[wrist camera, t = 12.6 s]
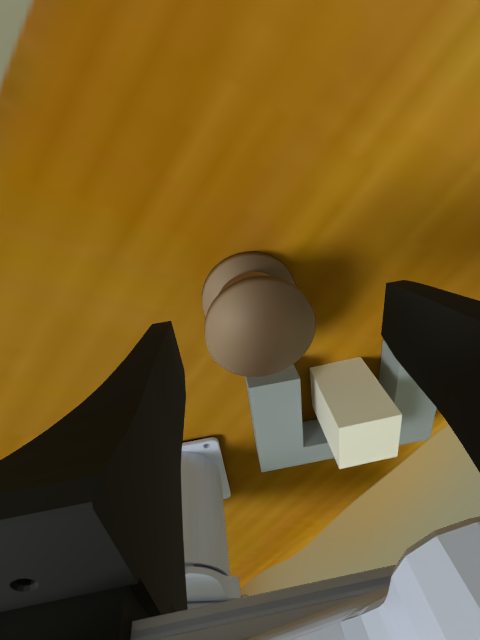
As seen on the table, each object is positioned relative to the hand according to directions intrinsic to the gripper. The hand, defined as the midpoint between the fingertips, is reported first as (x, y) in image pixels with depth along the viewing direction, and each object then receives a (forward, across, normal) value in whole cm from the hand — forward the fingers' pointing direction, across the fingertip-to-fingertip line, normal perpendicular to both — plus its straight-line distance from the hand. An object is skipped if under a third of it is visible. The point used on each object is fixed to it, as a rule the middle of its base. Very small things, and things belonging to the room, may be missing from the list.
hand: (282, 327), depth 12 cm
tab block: (+10, -6, +13) cm, 18 cm away
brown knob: (+10, 0, +4) cm, 11 cm away
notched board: (+10, -6, +14) cm, 18 cm away
